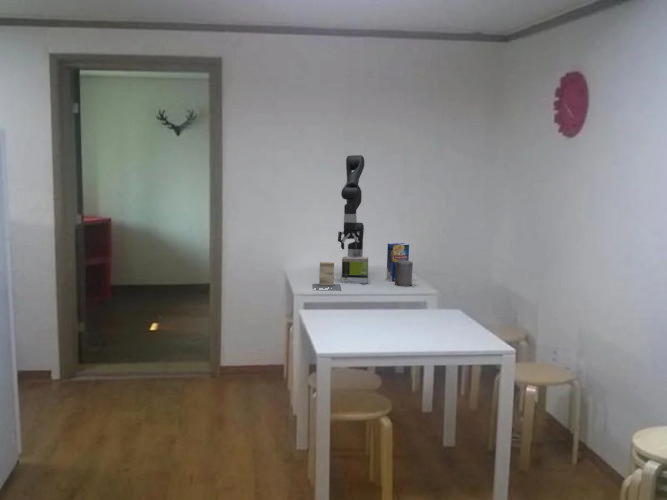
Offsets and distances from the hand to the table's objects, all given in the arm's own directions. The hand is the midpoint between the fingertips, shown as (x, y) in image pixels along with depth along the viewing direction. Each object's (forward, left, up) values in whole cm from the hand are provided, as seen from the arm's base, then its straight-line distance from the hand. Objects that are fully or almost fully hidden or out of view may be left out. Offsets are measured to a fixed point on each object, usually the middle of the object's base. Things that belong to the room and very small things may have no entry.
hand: (349, 249), depth 426 cm
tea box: (+4, +3, -19) cm, 20 cm away
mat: (+23, -14, -19) cm, 33 cm away
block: (+17, -14, -19) cm, 29 cm away
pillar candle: (+10, +31, -19) cm, 38 cm away
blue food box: (-5, +29, -19) cm, 35 cm away
